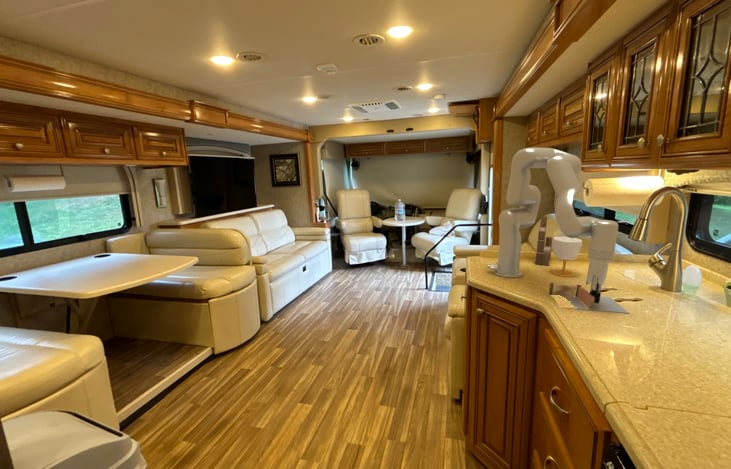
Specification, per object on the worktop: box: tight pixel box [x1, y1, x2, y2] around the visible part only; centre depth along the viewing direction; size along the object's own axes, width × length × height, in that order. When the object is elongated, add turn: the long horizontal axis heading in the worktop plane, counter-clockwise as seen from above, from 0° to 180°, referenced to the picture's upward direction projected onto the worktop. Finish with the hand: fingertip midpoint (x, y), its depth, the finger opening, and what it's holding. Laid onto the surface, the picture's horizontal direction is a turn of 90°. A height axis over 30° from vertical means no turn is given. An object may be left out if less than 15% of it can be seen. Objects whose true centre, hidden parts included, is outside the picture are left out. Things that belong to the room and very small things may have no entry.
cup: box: [552, 236, 583, 278], centre depth 157 cm, size 12×12×17 cm
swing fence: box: [577, 286, 595, 309], centre depth 123 cm, size 11×1×4 cm, turn 168°
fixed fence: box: [548, 282, 582, 297], centre depth 131 cm, size 11×1×5 cm, turn 76°
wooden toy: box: [534, 215, 554, 267], centre depth 176 cm, size 16×7×25 cm, turn 149°
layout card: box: [562, 294, 630, 314], centre depth 125 cm, size 22×14×1 cm, turn 76°
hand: (593, 301), depth 123 cm, fingers closed
